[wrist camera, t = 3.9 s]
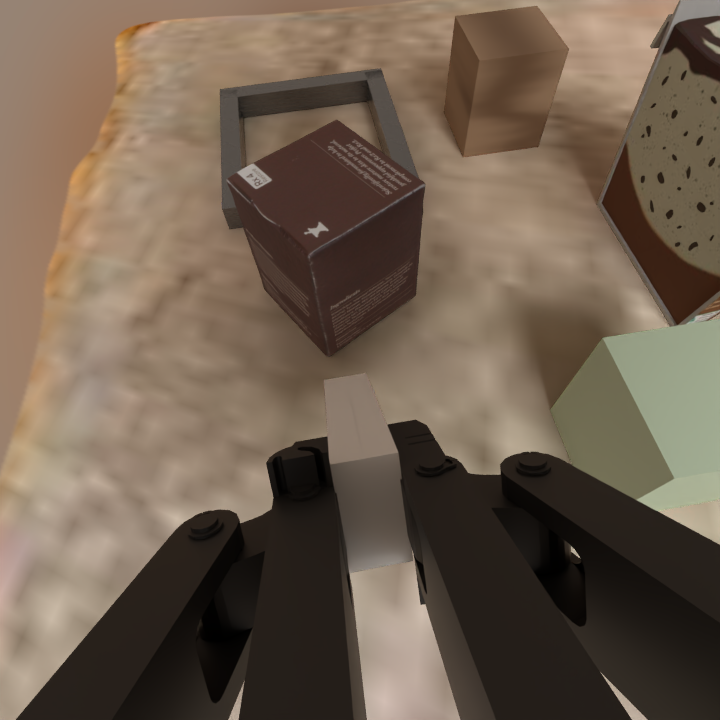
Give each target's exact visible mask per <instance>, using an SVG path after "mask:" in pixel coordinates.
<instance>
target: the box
mask: <svg viewBox="0 0 720 720" xmlns="http://www.w3.org/2000/svg"><path fill="white" fill-rule="evenodd" d="M226 182H227V184H228V186H229V189H230V191H231V193H232V196H233V199H234V203H235V206H236V208H237V211H238V214H239V217H240V219H241V222H242V225H243V228H244V231H245V234H246V237H247V240H248V242H249V245H250V248H251V251H252V254H253V256H254V259H255V262H256V265H257V267H258V270H259V273H260V276H261V279H262V283H263V286H264V289H265V290H266V292H268V293H269V295H270V296H271V297H272V298H273V299H274V300H275V301H276V302H277V303H278V304H279V305H280V307H281V308H282V309H283V310H284V311H285V312H286V313H287V314H288V315H289V316H290V317H291V319H292V320H293V321H294V322H295V323H296V324H297V325H298V326H299V327H300V328H301V329H302V330H303V331H304V332H305V333H306V335H307V336H308V337H309V338H310V339H311V340H312V341H313V342H314V343H315V344H316V345H317V346H318V347H319V348H320V349H321V351H322V352H323V353H324V354H325V355H326V356H331V355H333V354H334V353H335V352H337V351H338V350H339V349H341V348H342V347H344V346H345V345H347V344H348V343H350V342H351V341H352V340H354V339H355V338H356V337H358V336H359V335H361V334H362V333H363V332H365V331H366V330H368V329H369V328H370V327H372V326H373V325H375V324H376V323H377V322H379V321H380V320H382V319H383V318H385V317H386V316H387V315H389V314H390V313H392V312H393V311H395V310H396V309H397V308H399V307H401V306H402V305H403V304H405V303H406V302H407V301H409V300H410V299H412V298H413V297H414V296H415V295H416V285H417V275H418V263H419V250H420V236H421V225H422V215H423V197H424V191H425V183H424V182H423V181H421V180H420V179H419V178H417V177H416V176H414V175H413V174H411V173H410V172H409V171H407V170H406V169H405V168H403V167H402V166H400V165H399V164H398V163H396V162H395V161H394V160H392V159H391V158H389V157H388V156H387V155H385V154H384V153H382V152H381V151H380V150H378V149H377V148H375V147H374V146H373V145H371V144H370V143H369V142H367V141H366V140H364V139H363V138H362V137H360V136H359V135H358V134H356V133H355V132H353V131H352V130H351V129H349V128H348V127H347V126H345V125H344V124H342V123H341V122H340V121H338V120H335V121H333V122H331V123H329V124H327V125H325V126H324V127H321V128H320V129H318V130H316V131H314V132H312V133H310V134H308V135H306V136H305V137H303V138H301V139H299V140H297V141H295V142H293V143H291V144H290V145H288V146H286V147H284V148H282V149H280V150H278V151H276V152H274V153H272V154H270V155H268V156H266V157H264V158H262V159H260V160H258V161H257V162H255V163H252V164H251V165H248V166H247V167H245V168H243V169H242V170H240V171H238V172H237V173H235V174H233V175H232V176H230V177H229V178H227V180H226Z"/></svg>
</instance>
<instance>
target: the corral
mask: <svg viewBox="0 0 720 720" xmlns="http://www.w3.org/2000/svg"><path fill="white" fill-rule="evenodd" d="M363 101H368V104H369V107H370V111H371V114H372V117H373V121H374V124H375V127H376V131H377V134H378V138H379V141H380V144H381V148H382V151H383V153H384V154H385V155H387V156H388V157H389V158H391V159H392V160H394V161H395V162H396V163H398V164H399V165H400V166H402V167H403V168H405V169H406V170H407V171H409V172H410V173H411V174H413V175H414V176H416V177H417V178H419V177H418V175H417V172H416V169H415V166H414V163H413V160H412V157H411V154H410V151H409V148H408V146H407V143H406V140H405V137H404V134H403V131H402V128H401V125H400V122H399V120H398V117H397V114H396V111H395V108H394V105H393V102H392V99H391V96H390V93H389V91H388V88H387V85H386V82H385V79H384V76H383V73H382V70H381V68H380V69H372V70H364V71H357V72H349V73H341V74H334V75H326V76H318V77H311V78H303V79H295V80H288V81H280V82H272V83H265V84H257V85H250V86H242V87H234V88H227V89H220V121H221V170H222V210H223V212H224V215H225V218H226V221H227V223H228V226H229V229H233V228H240V227H243V225H242V222H241V219H240V217H239V214H238V211H237V208H236V206H235V203H234V199H233V196H232V193H231V191H230V189H229V186H228V184H227V182H226V180H227V178H229V177H230V176H232V175H233V174H235V173H237V172H238V171H240V170H242V169H243V168H245V167H246V157H245V140H244V124H243V118H244V117H251V116H259V115H266V114H274V113H281V112H289V111H296V110H304V109H311V108H318V107H326V106H333V105H341V104H348V103H356V102H363Z"/></svg>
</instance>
